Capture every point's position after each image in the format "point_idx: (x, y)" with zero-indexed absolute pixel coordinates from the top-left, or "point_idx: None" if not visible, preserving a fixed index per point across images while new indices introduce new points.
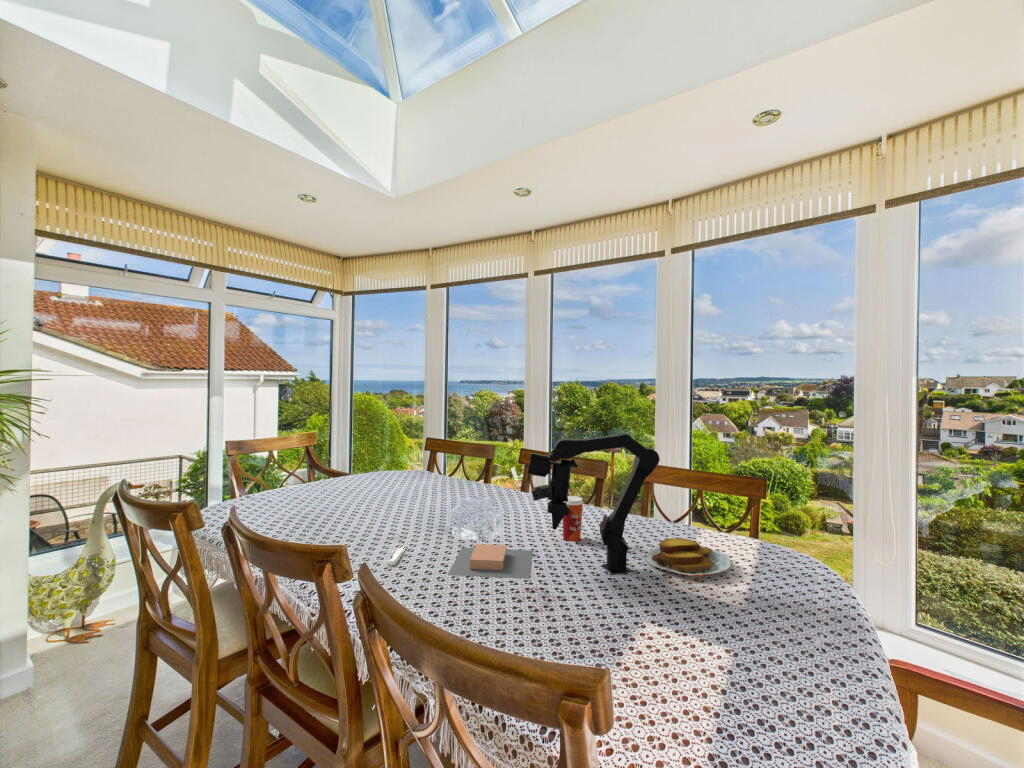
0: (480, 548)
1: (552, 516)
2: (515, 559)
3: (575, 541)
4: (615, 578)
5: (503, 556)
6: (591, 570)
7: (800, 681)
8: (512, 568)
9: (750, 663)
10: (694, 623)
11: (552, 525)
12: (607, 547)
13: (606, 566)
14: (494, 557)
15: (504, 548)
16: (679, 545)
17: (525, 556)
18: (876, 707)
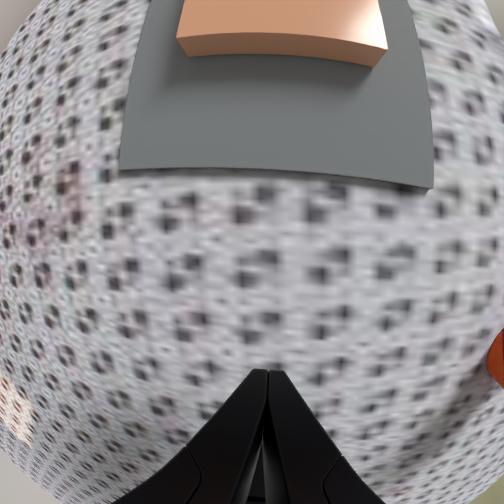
0: None
1: (144, 486)
2: (321, 97)
3: (487, 363)
4: None
5: (231, 30)
6: None
7: (19, 456)
8: (213, 87)
9: (19, 445)
10: (60, 457)
11: (235, 391)
12: (263, 497)
13: (260, 448)
14: (217, 4)
15: (343, 33)
16: None
17: (363, 145)
18: (21, 468)
